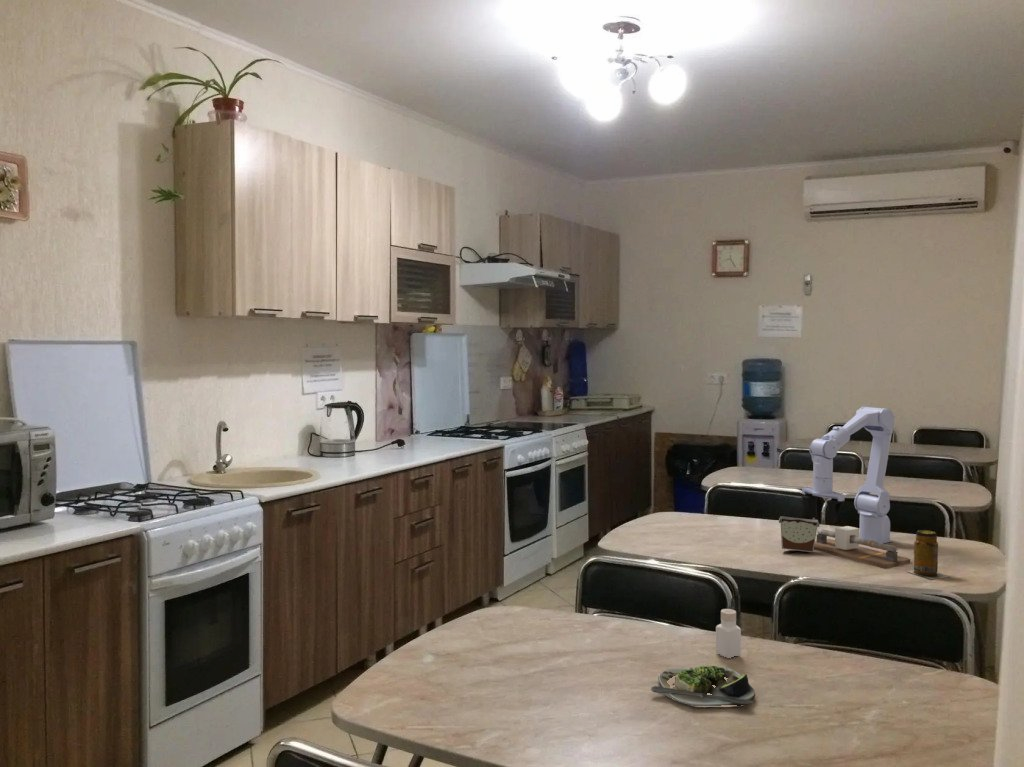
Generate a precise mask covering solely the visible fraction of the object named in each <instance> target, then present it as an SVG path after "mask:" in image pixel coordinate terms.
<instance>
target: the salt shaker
mask: <svg viewBox="0 0 1024 767" xmlns="http://www.w3.org/2000/svg"><path fill="white" fill-rule="evenodd" d="M715 653H716V654H717V653H718V654H717V655H719V654H720V655H719V656H721V655H722V656H721V657H723V656H724V657H723V658H725V657H727V658H730V657H734V656H738V657H740V656H741V655H742V628H741V627H740V626H738V625H737V611H736V610H734V609H731V608H722V609H721V610H720V623H719V624H717V625H716V626H715ZM739 655H740V656H739ZM727 658H726V659H727ZM734 658H735V657H734ZM730 659H731V658H730Z"/></svg>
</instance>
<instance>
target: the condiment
mask: <svg viewBox="0 0 1024 767" xmlns="http://www.w3.org/2000/svg"><path fill="white" fill-rule="evenodd" d="M937 537H938V533H937V532H935V531H933V530H927V529H920V530H917V531H916V532H915V540H914V542H913V544H914V545H913V546H914V547H913V570H906V572H908V573H911V574H913V575H916V576H921V577H923V578H925V579H926V578H927V579H930V580H935V579H943V578H948V577H949V578H950V575H946V574H944V573H942V572H938V568H939V566H938V565H939V564H938V563H939V562H938V560H939V558H938V557H939V543H938V542H937V540H938V538H937Z"/></svg>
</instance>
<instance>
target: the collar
mask: <svg viewBox="0 0 1024 767" xmlns="http://www.w3.org/2000/svg"><path fill="white" fill-rule="evenodd" d="M834 532H835V539H834V540H835V547H836V548H840V549H844V550H849V549H854V548H859V546H860V544H858V543H854V542H850V536H854V537H858V538H859V533H860V527H859V528H858V527H855V526H849V525H845V526H840V527H836V528H835V531H834Z"/></svg>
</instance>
